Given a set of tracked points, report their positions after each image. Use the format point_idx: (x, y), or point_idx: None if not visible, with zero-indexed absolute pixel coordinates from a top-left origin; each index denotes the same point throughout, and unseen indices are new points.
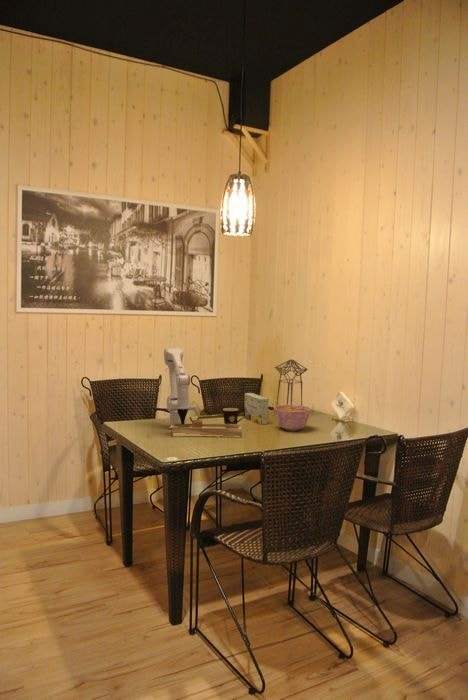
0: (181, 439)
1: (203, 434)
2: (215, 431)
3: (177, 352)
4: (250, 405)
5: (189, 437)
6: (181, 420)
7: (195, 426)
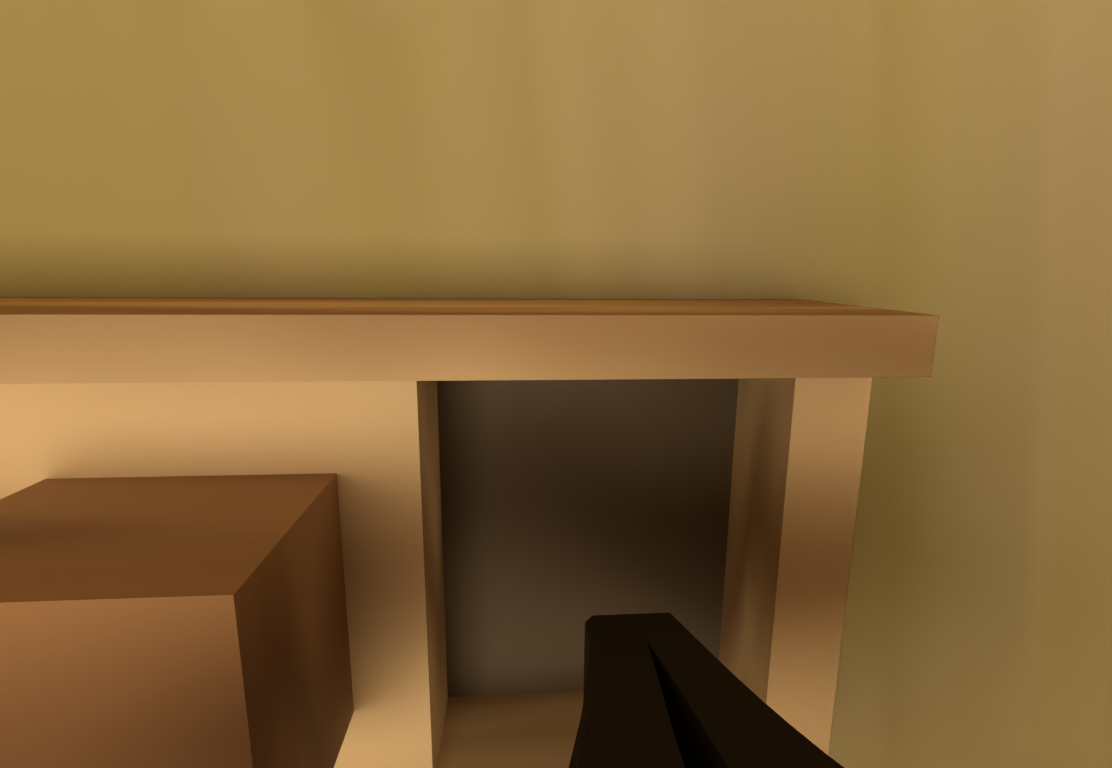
0: (569, 21)
1: (27, 300)
2: None
3: None
4: None
5: (404, 234)
6: (714, 678)
7: (183, 515)
